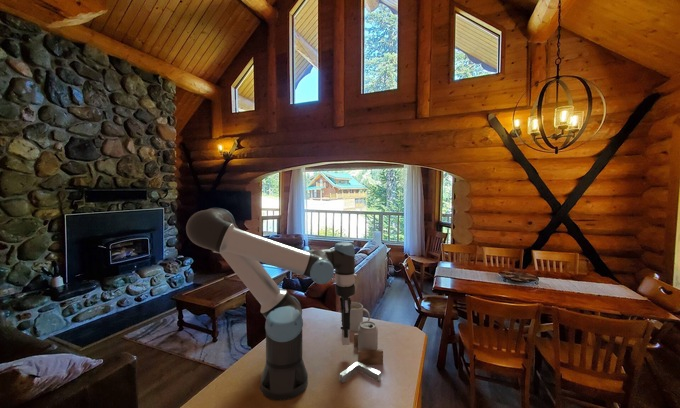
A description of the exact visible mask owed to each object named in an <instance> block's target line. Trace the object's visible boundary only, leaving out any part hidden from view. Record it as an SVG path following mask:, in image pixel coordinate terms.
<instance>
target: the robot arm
mask: <svg viewBox="0 0 680 408" xmlns="http://www.w3.org/2000/svg"><path fill="white" fill-rule="evenodd" d="M185 231H186V236H187V237H188V239H189V240H190V241H191V242H192V243H193V244H195V245H196V246H197V247H201V248H203V249H207V250H211V251H212V253H216V254H220V256H221V257H222V258H223V259H224V260H225V261H226V263H227V265H228V266H229V267H230V268H231V269H232V271H233V272H234V273H235V274H236V276H237V277H238V278H239V279H240V280H241V282H242V283H243V284H244V286H245V287H246V288H247V289H248V291H249V293H251V294H252V296H253V297H254V298H255V300H256V301H257V302H258V303H259V304H260V313H261V314H262V316H263V317H264V318H265V324H264V329H265V365H264V368H263V372H262V374H261V378H260V391H261V394H262V393H263V394H262V395H263V397H265V396H266V397H265V398H267V399H270V400H272V401H280V402H281V401H288V400H292V399H295V398H296V397H298V396H299V395H302V393H304V391H305V390H306V389H307V387H308V384H309V379H308V378H309V377H308V371H307V369H306V365H305V362H304V360H303V327H304V320H303V319H304V318H303V308H302V305H301V303H300V301H299V300H298V299H297V298H296V297H295V296H294V295H291V294H290V293H289V291H288V290H287V289H281V288H280V287H279V286H278V284H277V283H276V282H275V280H274V278H273V277H271V275H270V274H269V272H267V270H266V269H265V268H264V266H263V265H262V264H261V263H263V264H266V265H269V266H272V267H276V268H279V269H282V270H285V271H289V272H290V273H291V272H292V273H295V274H298V275H301V276H305V277H306V278H310V279H311V281H313V282H314V283H316V284H317V285H325V284H328V283H329V282H331V280H332V279H333V278H334V283H335V285H334V287H335V288H334V289H335V290H334V291H335V292H334V293H335V295H336V296H338V297H339V302H340V312H341V316H340V317H341V326H340V330H341V344H342V346H349V345H350V331H349V330H350V310H351V308H350V305H351V302H352V300H351V296H354V295H355V293H356V284H355V282H356V278H357V274H356V273H355V272H356V266H355V265H356V254H355V253H356V252H355V245H354V244H353V243H352V242H347V241H346V242H345V241H341V242H337V243H335V244H334V247H333V248H326V249H325V248H324V249H323V248H321V249H307V250H303V249H299V248H296V247H294V246H291V245H287V244H284V243H282V242H278V241H276V240H272V239H270V238H266V237H265V236H264V237H263V236H261V235H257V234H254V233H251V232H248V231H245V230H242V229H240V228H239V226H238V225H237V224H236V220H235V218H234V215H233V214H232V213H231V212H230V211H229V210H227V209H225V208H221V207H210V208H208V209H204V210H200V211H199V210H198V211H197V212H194V213H193V214H192V215H191V216H190V217H189V219H188V220H187V223H186V226H185Z"/></svg>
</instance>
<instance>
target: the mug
mask: <svg viewBox="0 0 680 408" xmlns="http://www.w3.org/2000/svg"><path fill="white" fill-rule="evenodd" d="M350 308H351V310H350V330H349V332H358V327H359V326H360V323H361V322H364V312H365V313H366V314H367V316H368V319H367V321H370V320H371V315H370V314H371V313H370V312H369V311H368V309H366V308H364V306H363V304H361V303H360V302H356V301H351V305H350Z"/></svg>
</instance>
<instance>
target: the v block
mask: <svg viewBox="0 0 680 408" xmlns="http://www.w3.org/2000/svg"><path fill="white" fill-rule="evenodd" d="M357 373H360V374H363V375H364V376H366V377H368V378H370V379H372V380H373V381H376V382H380V381H381V380H382V377H381V376H382V372H381V371H380V370H378V369H375V368H374V367H371V366H370V365H365V364H363V363H361V362H358V361H355V362H354V363H352V364H351V365H350V366H348V367H347V368H346V369H344V370H343V371H341V372H340V373H339V382H340V383H342V384H344V383H345V382H347V381H348V380H349V379H351V378H353V376H355V375H356V374H357Z"/></svg>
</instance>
